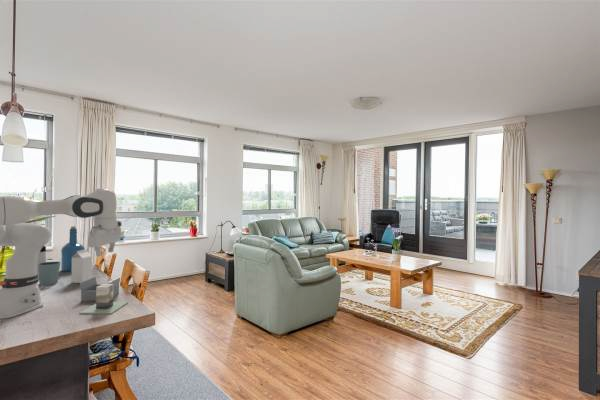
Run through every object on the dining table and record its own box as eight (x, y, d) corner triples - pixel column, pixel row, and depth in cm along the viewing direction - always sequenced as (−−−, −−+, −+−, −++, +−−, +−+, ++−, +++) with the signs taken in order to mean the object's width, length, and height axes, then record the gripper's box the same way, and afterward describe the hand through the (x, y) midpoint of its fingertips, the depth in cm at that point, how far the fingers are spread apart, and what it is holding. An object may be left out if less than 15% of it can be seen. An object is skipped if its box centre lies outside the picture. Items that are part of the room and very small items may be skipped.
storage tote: (107, 301, 157) (107, 283, 157) (79, 301, 156) (79, 282, 156) (120, 293, 169) (120, 276, 169) (94, 293, 168) (94, 276, 168)
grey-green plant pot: (33, 285, 180) (33, 264, 180) (46, 281, 191) (47, 261, 190) (51, 285, 181) (51, 264, 181) (64, 281, 191) (64, 261, 191)
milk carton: (91, 280, 193) (91, 249, 193) (82, 283, 186) (82, 251, 186) (80, 279, 194) (81, 248, 194) (71, 283, 187) (71, 250, 187)
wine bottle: (88, 269, 221) (88, 226, 221) (66, 273, 210) (66, 227, 210) (78, 266, 229) (79, 225, 228) (57, 270, 217) (57, 226, 217)
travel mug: (44, 276, 201) (44, 244, 200) (47, 278, 196) (47, 246, 196) (31, 278, 196) (31, 246, 196) (34, 280, 192) (34, 247, 191)
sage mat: (111, 314, 140) (111, 312, 140) (79, 313, 140) (79, 312, 140) (127, 303, 154) (127, 302, 154) (98, 303, 154) (98, 301, 154)
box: (107, 309, 144) (107, 287, 144) (96, 309, 144) (96, 287, 144) (113, 305, 149) (113, 284, 149) (102, 305, 149) (102, 284, 149)
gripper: (98, 226, 136) (98, 258, 136) (123, 222, 156) (123, 250, 157) (83, 226, 136) (83, 258, 136) (110, 222, 156) (110, 250, 156)
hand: (105, 254), depth 146 cm, fingers open, 8 cm apart
